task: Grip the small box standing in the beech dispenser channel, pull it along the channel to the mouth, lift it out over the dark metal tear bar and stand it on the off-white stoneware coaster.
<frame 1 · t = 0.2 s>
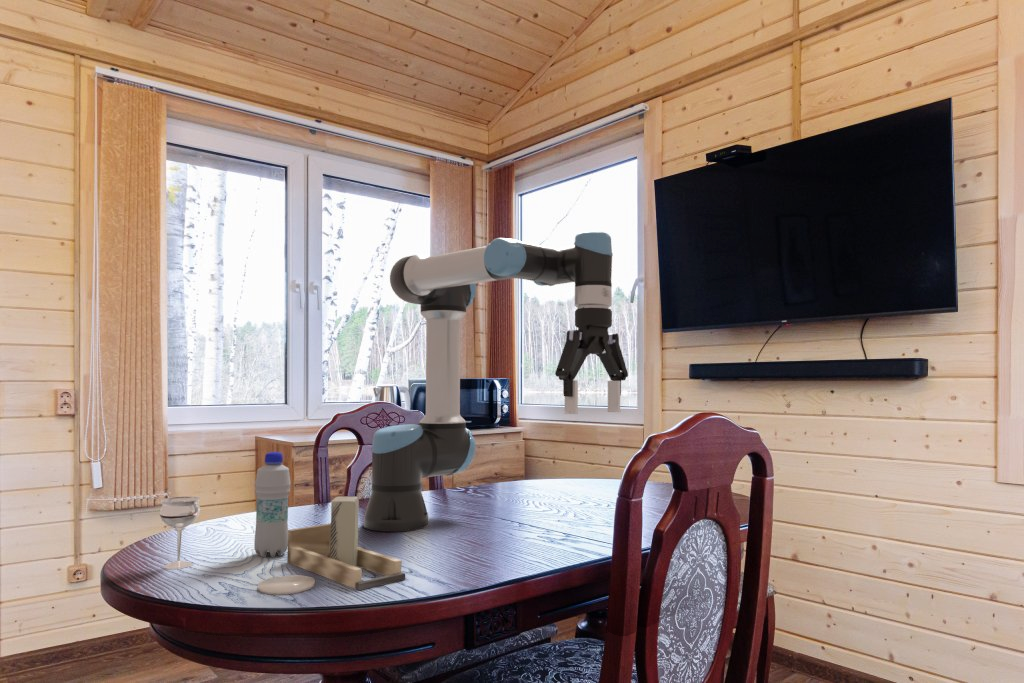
hand: (593, 413, 141), 28 cm above the table, fingers open, 13 cm apart
wineglass: (178, 566, 129), on the table
bottle: (271, 555, 137), on the table
box: (343, 571, 126), resting in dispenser
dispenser: (352, 573, 124), on the table
coaster: (286, 586, 116), on the table
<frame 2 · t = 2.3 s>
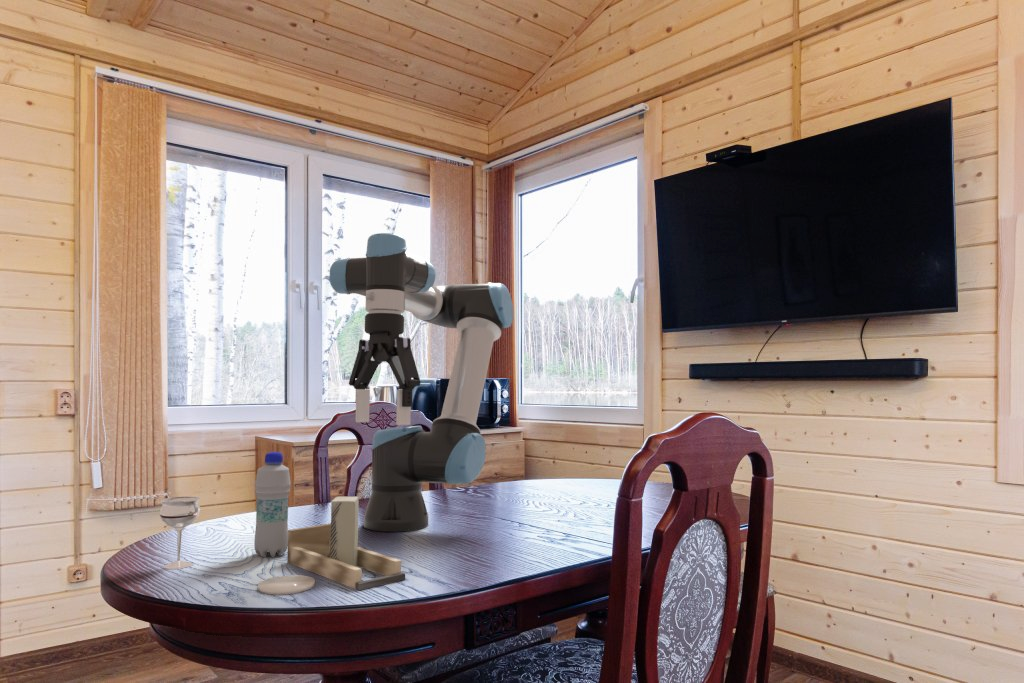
hand: (382, 423, 135), 26 cm above the table, fingers open, 13 cm apart
nothing on the table moved.
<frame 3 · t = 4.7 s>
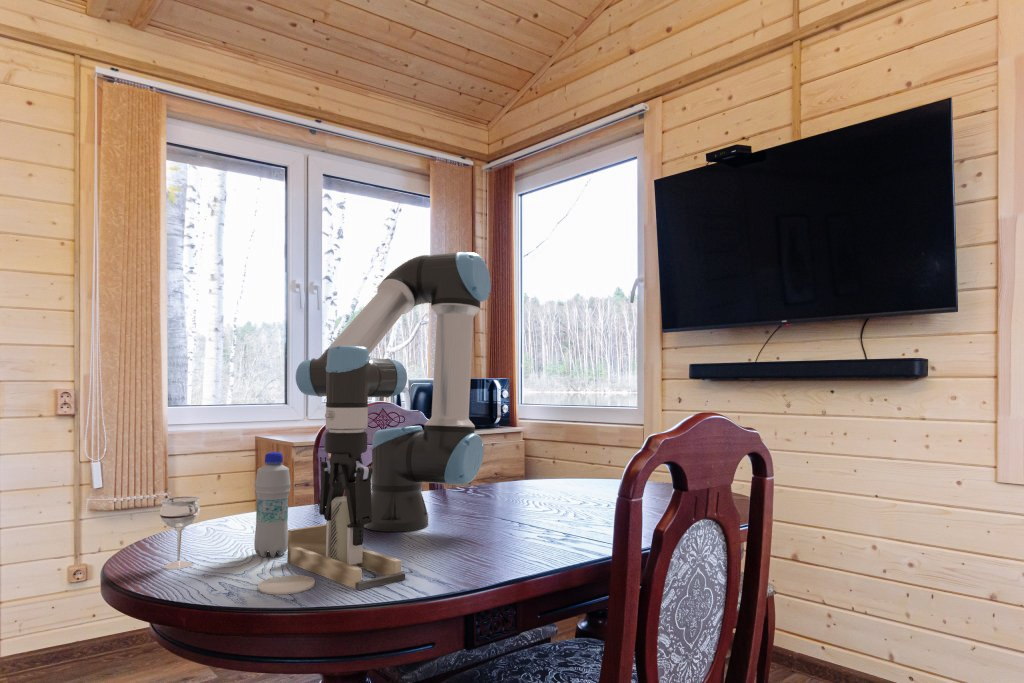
hand: (343, 559, 126), 2 cm above the table, fingers closed on box, 6 cm apart
box: (343, 571, 126), resting in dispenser, touching gripper
everything else where it was.
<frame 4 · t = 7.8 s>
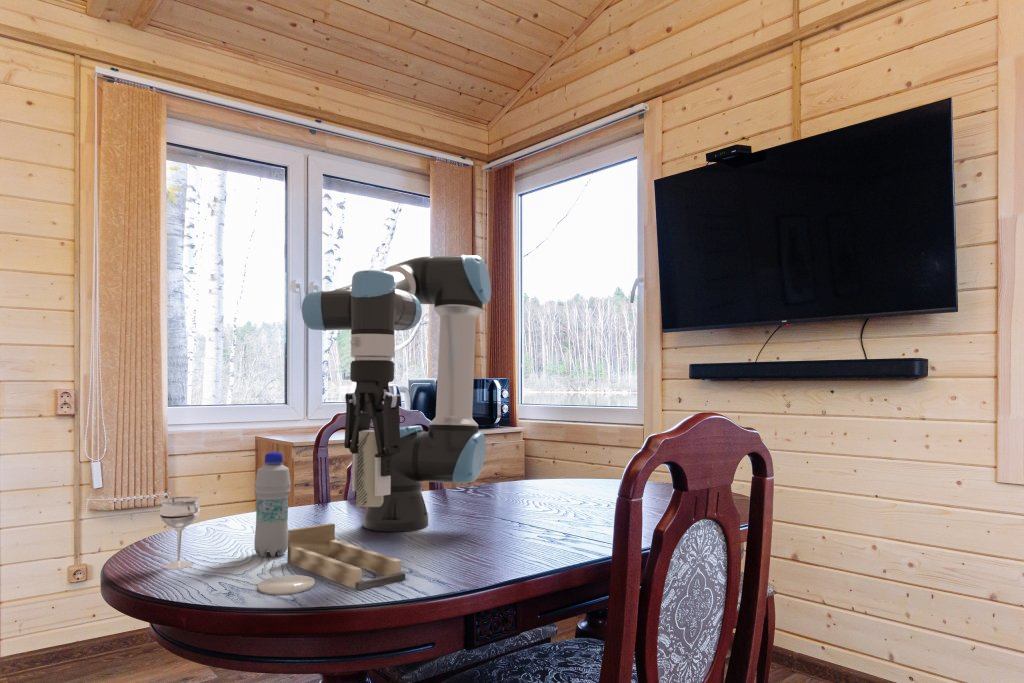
hand: (370, 492, 121), 15 cm above the table, fingers closed on box, 6 cm apart
box: (369, 506, 121), point 12 cm above the table, touching gripper
everything else where it was.
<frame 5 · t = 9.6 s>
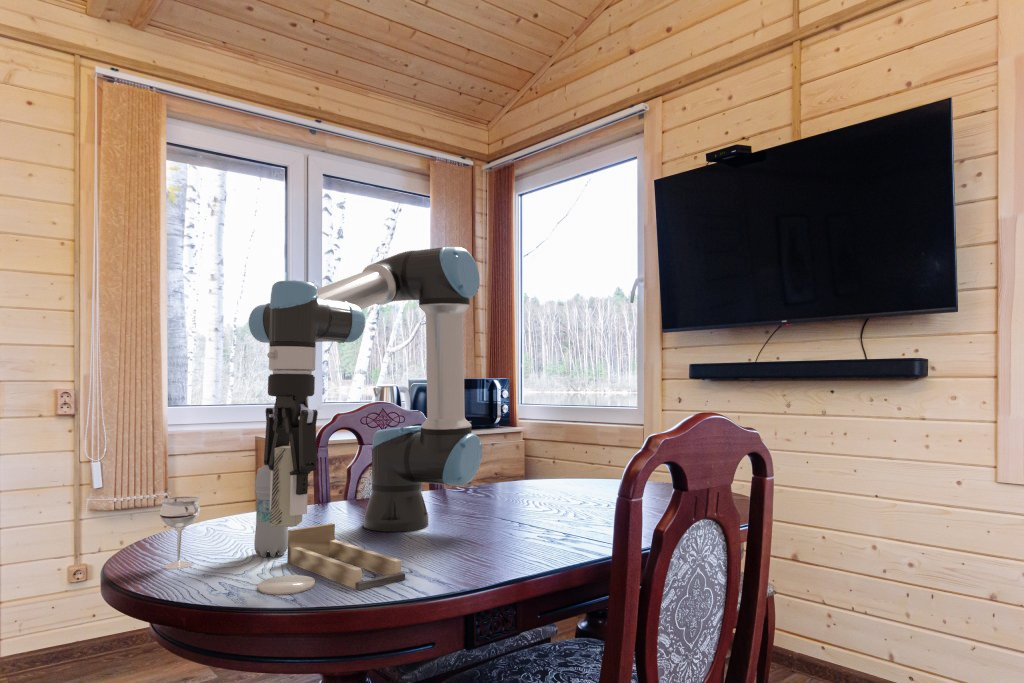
hand: (287, 511, 116), 12 cm above the table, fingers closed on box, 6 cm apart
box: (286, 526, 116), point 10 cm above the table, touching gripper
everything else where it was.
when the fingers open (4 cm above the table, at t = 11.0 s): box drops 1 cm, resting on coaster.
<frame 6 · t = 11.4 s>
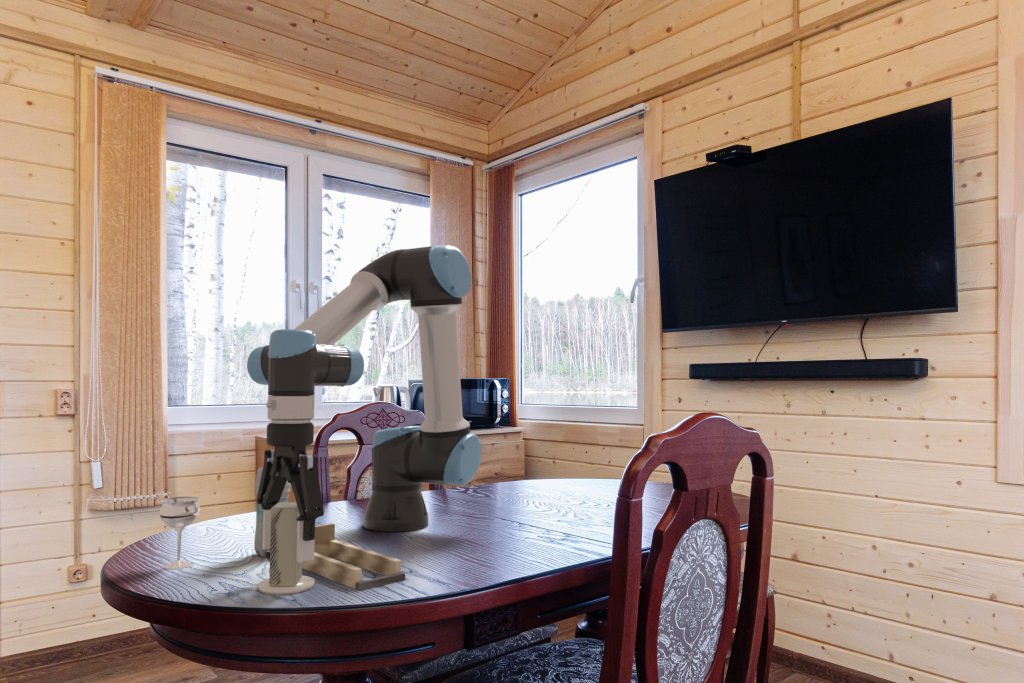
hand: (287, 553, 116), 5 cm above the table, fingers open, 11 cm apart
box: (285, 584, 116), resting on coaster
everything else where it was.
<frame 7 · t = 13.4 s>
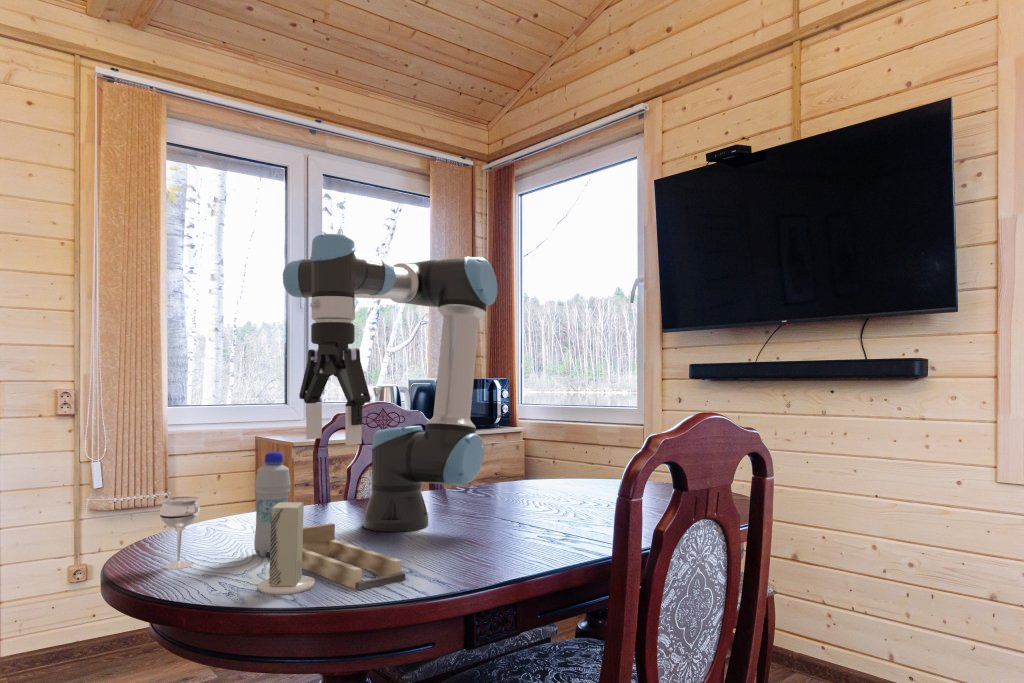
hand: (333, 441, 124), 23 cm above the table, fingers open, 13 cm apart
nothing on the table moved.
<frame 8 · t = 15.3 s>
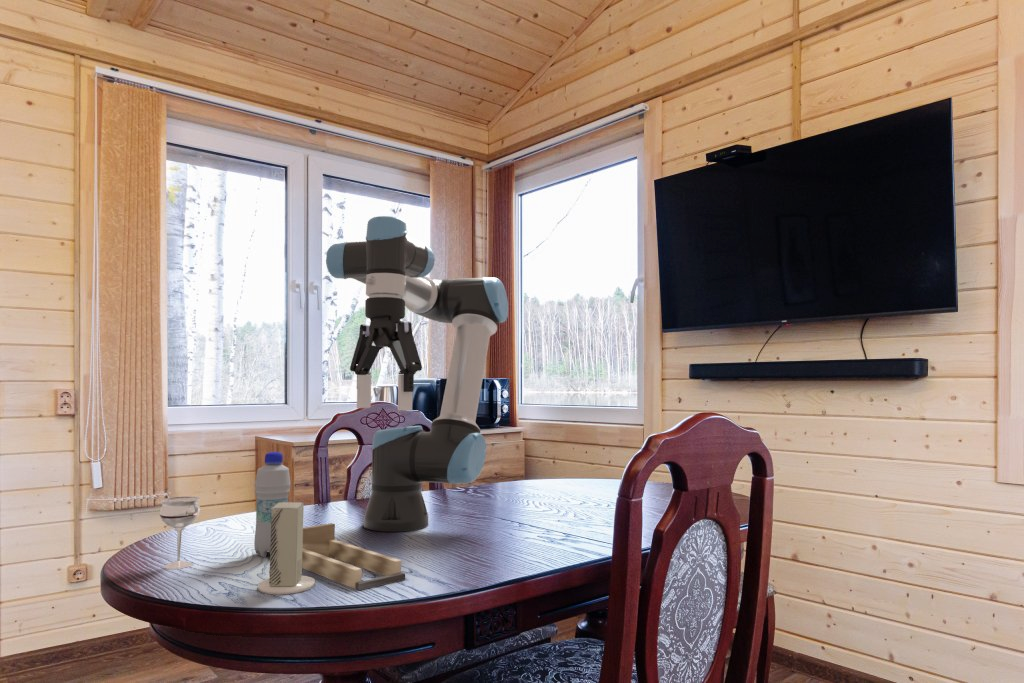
hand: (383, 409, 133), 29 cm above the table, fingers open, 13 cm apart
nothing on the table moved.
at the end: box 0.3 cm from the coaster (horizontally); box tilted 0°; the gripper is holding nothing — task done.
